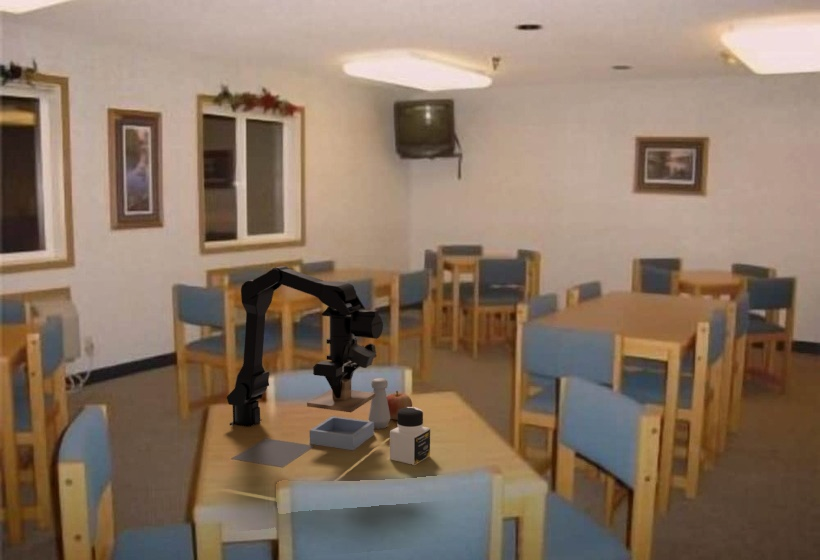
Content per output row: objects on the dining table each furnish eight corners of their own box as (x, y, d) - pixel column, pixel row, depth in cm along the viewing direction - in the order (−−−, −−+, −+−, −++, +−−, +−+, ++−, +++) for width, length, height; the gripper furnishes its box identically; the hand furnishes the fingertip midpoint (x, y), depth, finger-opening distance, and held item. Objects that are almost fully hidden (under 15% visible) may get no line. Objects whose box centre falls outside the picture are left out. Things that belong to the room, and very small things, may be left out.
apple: (395, 425, 206) (395, 396, 205) (377, 417, 212) (377, 389, 211) (418, 419, 211) (418, 391, 210) (400, 412, 217) (400, 384, 216)
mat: (231, 461, 180) (231, 458, 180) (266, 440, 194) (266, 438, 194) (282, 469, 175) (282, 467, 175) (314, 448, 189) (314, 445, 189)
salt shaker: (387, 430, 202) (387, 382, 200) (366, 429, 203) (366, 381, 201) (392, 423, 207) (392, 376, 205) (371, 422, 208) (371, 375, 207)
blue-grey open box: (309, 445, 190) (309, 430, 190) (332, 430, 201) (332, 416, 201) (353, 452, 186) (353, 436, 185) (373, 436, 197) (373, 421, 196)
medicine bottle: (414, 465, 178) (415, 415, 176) (389, 459, 181) (389, 410, 180) (430, 456, 184) (430, 407, 182) (405, 450, 187) (405, 403, 186)
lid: (307, 406, 188) (306, 384, 187) (333, 391, 201) (333, 371, 200) (351, 412, 183) (350, 390, 183) (375, 396, 196) (375, 375, 196)
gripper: (353, 345, 178) (354, 410, 180) (386, 330, 195) (386, 389, 197) (311, 341, 182) (312, 404, 184) (347, 326, 199) (347, 384, 202)
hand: (341, 395), depth 192 cm, fingers closed on lid, 3 cm apart
